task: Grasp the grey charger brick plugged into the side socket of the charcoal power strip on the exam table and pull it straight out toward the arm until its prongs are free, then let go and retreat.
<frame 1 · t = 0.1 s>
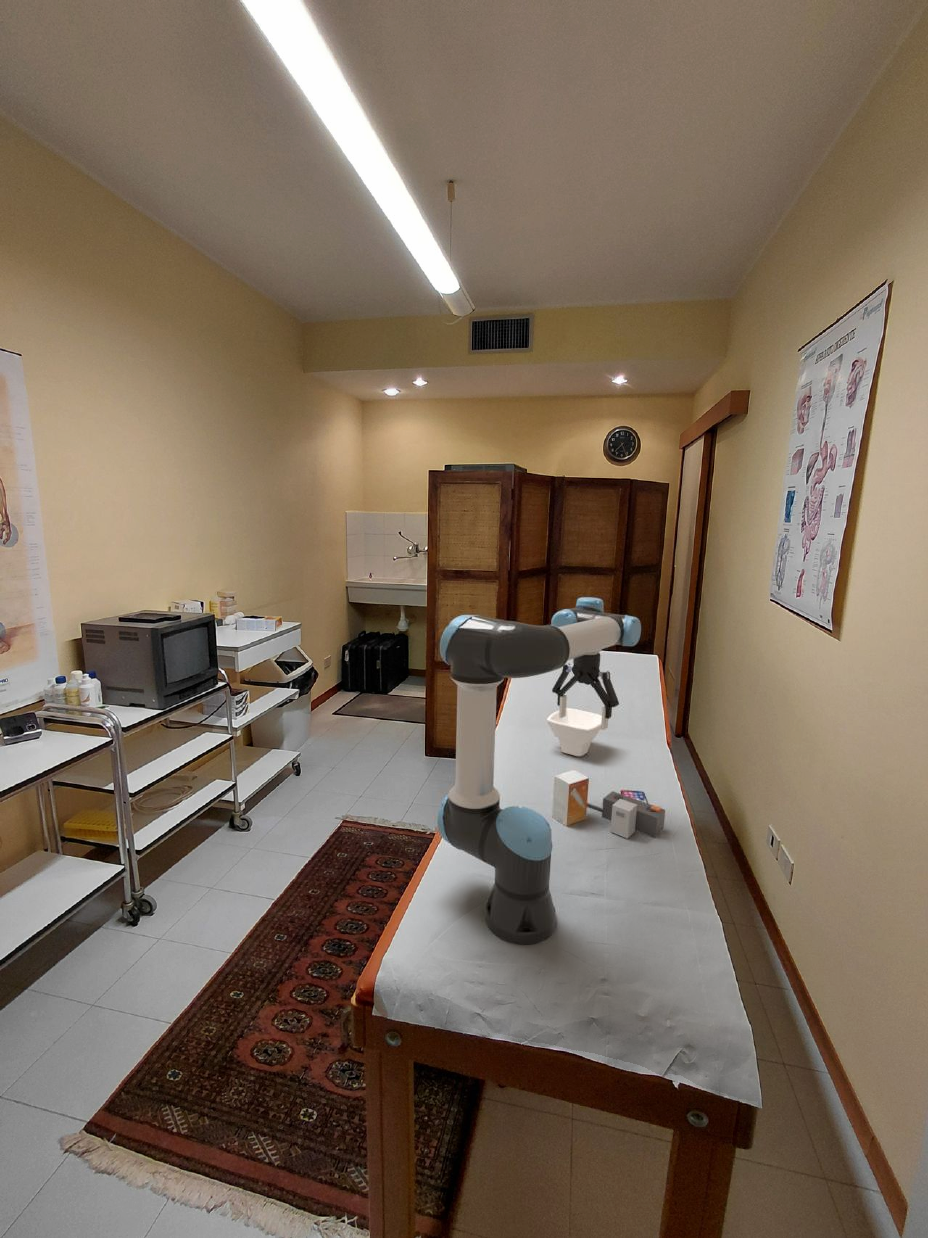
hand: (582, 722, 158), 28 cm above the table, fingers open, 13 cm apart
small box: (569, 818, 159), on the table
bowl: (574, 753, 205), on the table
power strip: (632, 823, 157), on the table
charger: (626, 815, 152), point 4 cm above the table, slide at 0.0 cm
smartphone: (635, 805, 168), on the table
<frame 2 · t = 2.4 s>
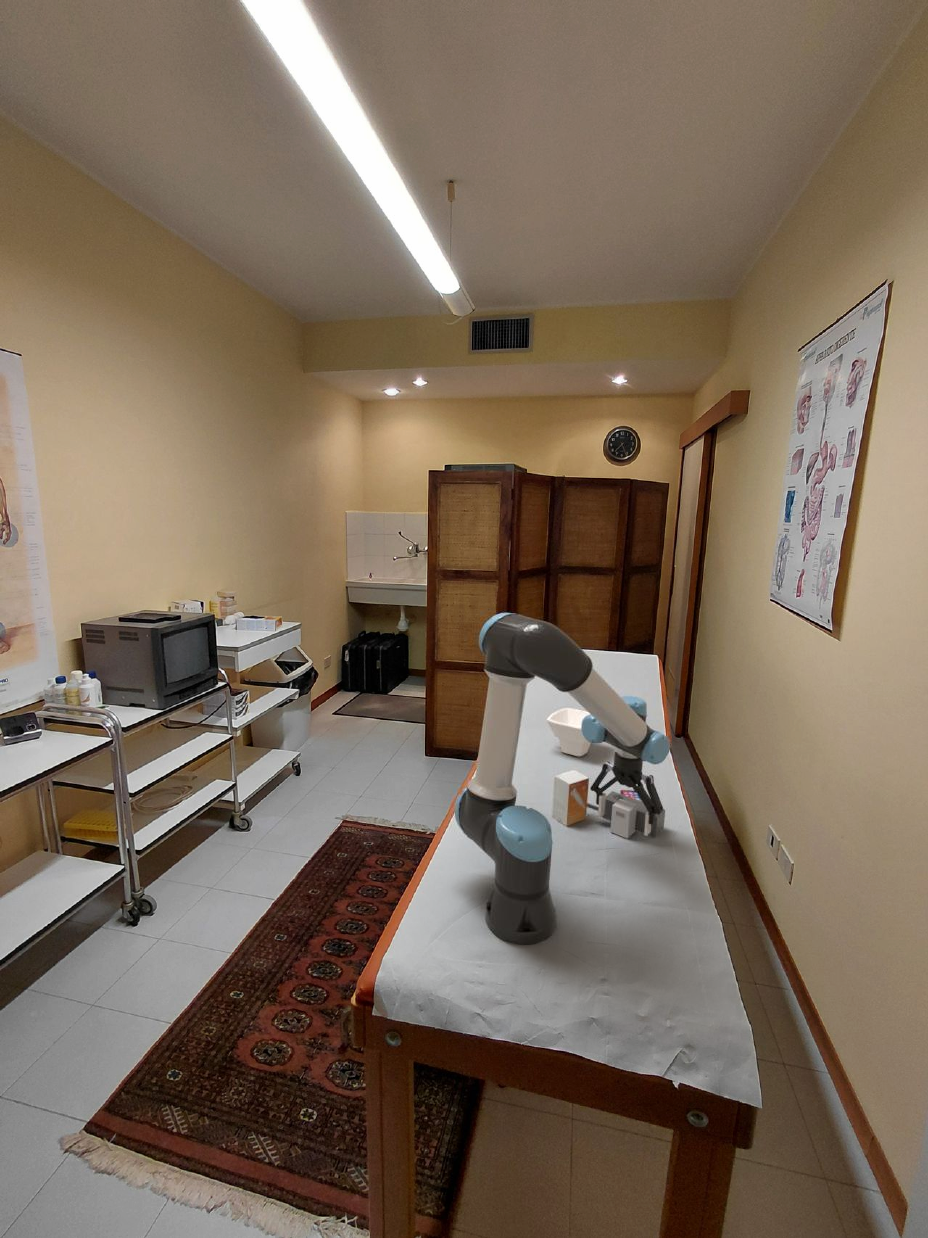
hand: (623, 824, 152), 2 cm above the table, fingers open, 13 cm apart
nothing on the table moved.
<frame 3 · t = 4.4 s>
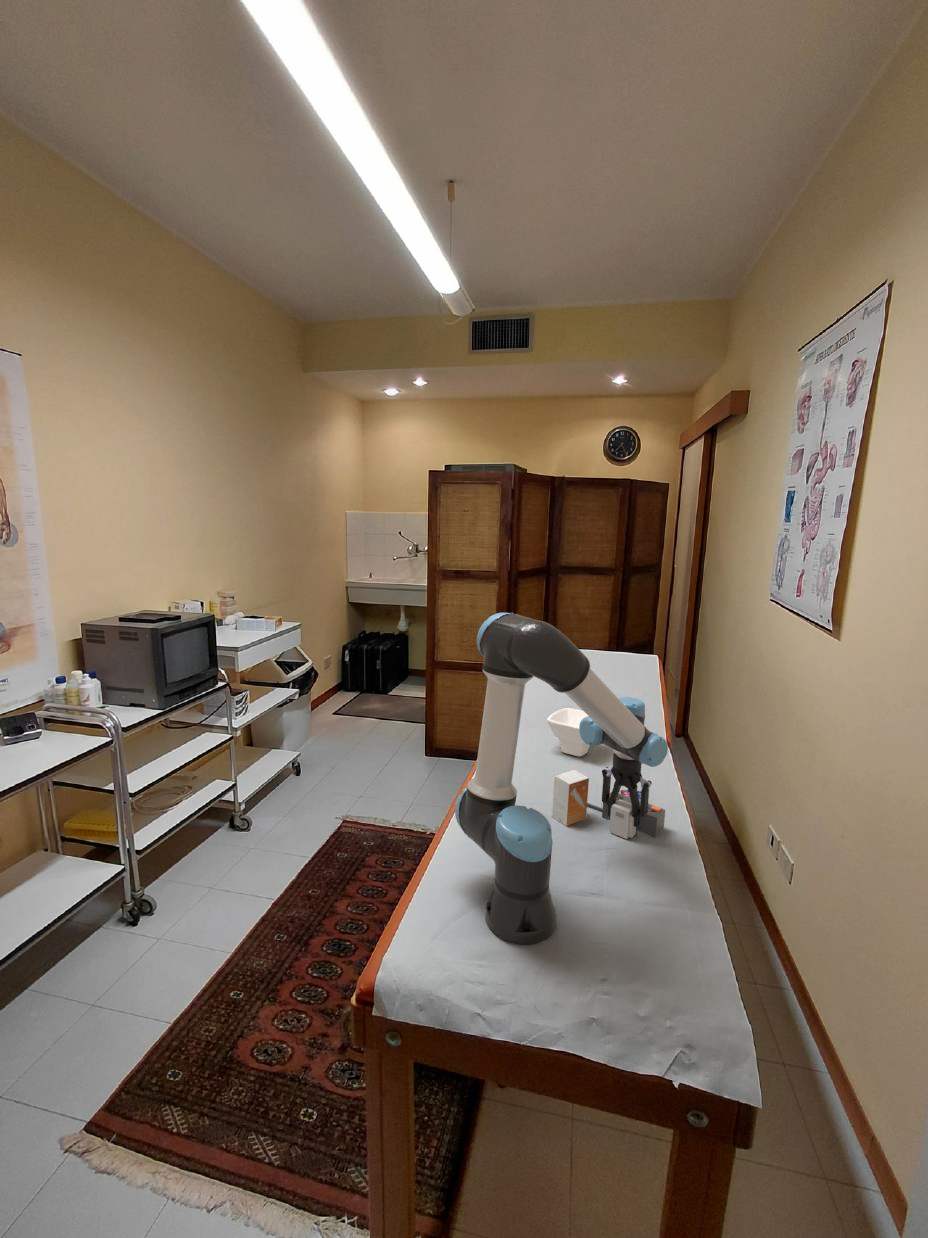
hand: (622, 831, 152), 0 cm above the table, fingers closed on charger, 5 cm apart
charger: (625, 816, 152), point 4 cm above the table, slide at 0.4 cm, touching gripper
everything else where it was.
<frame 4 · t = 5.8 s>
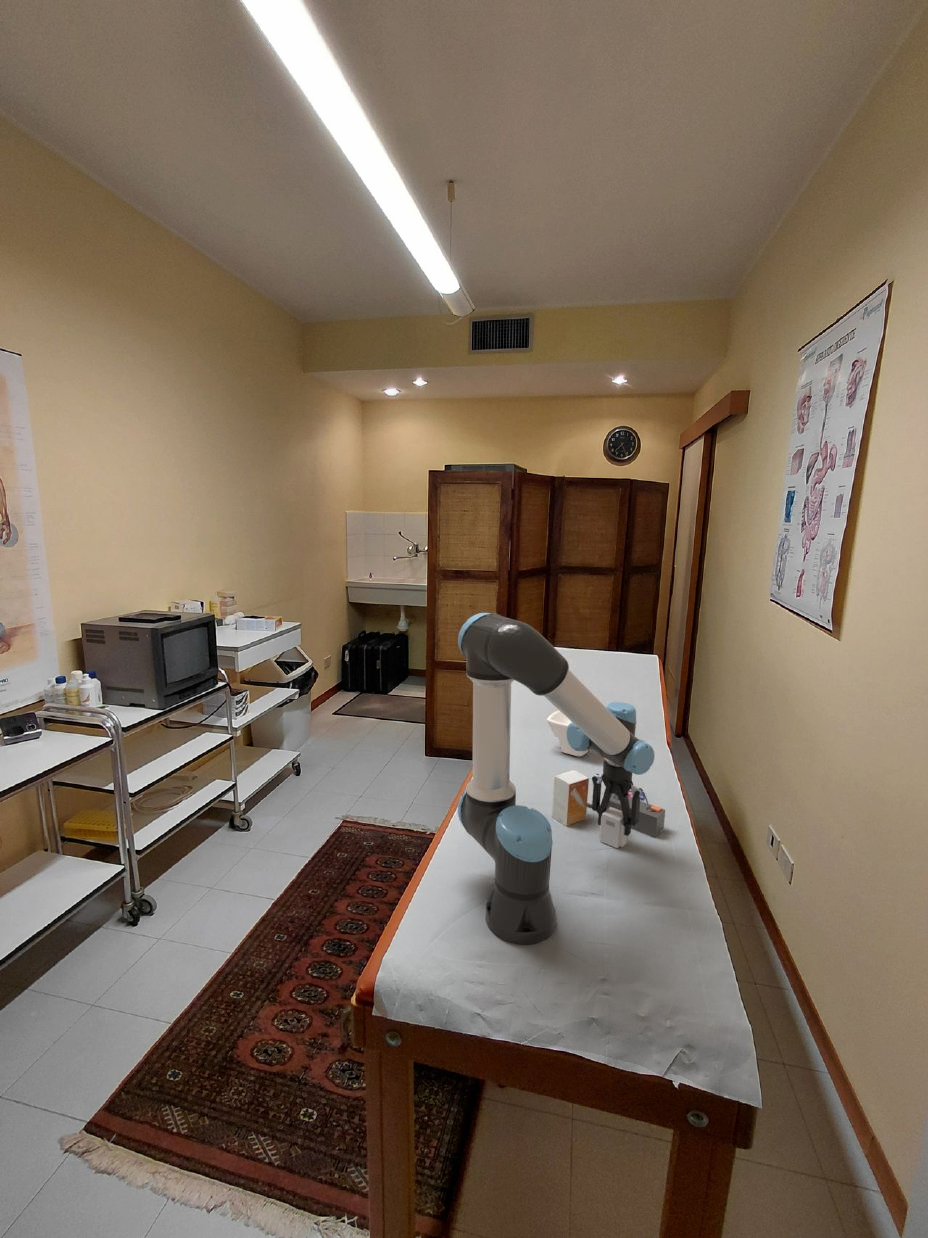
hand: (613, 840, 147), 0 cm above the table, fingers closed on charger, 5 cm apart
charger: (616, 824, 148), point 4 cm above the table, slide at 6.3 cm, touching gripper
everything else where it was.
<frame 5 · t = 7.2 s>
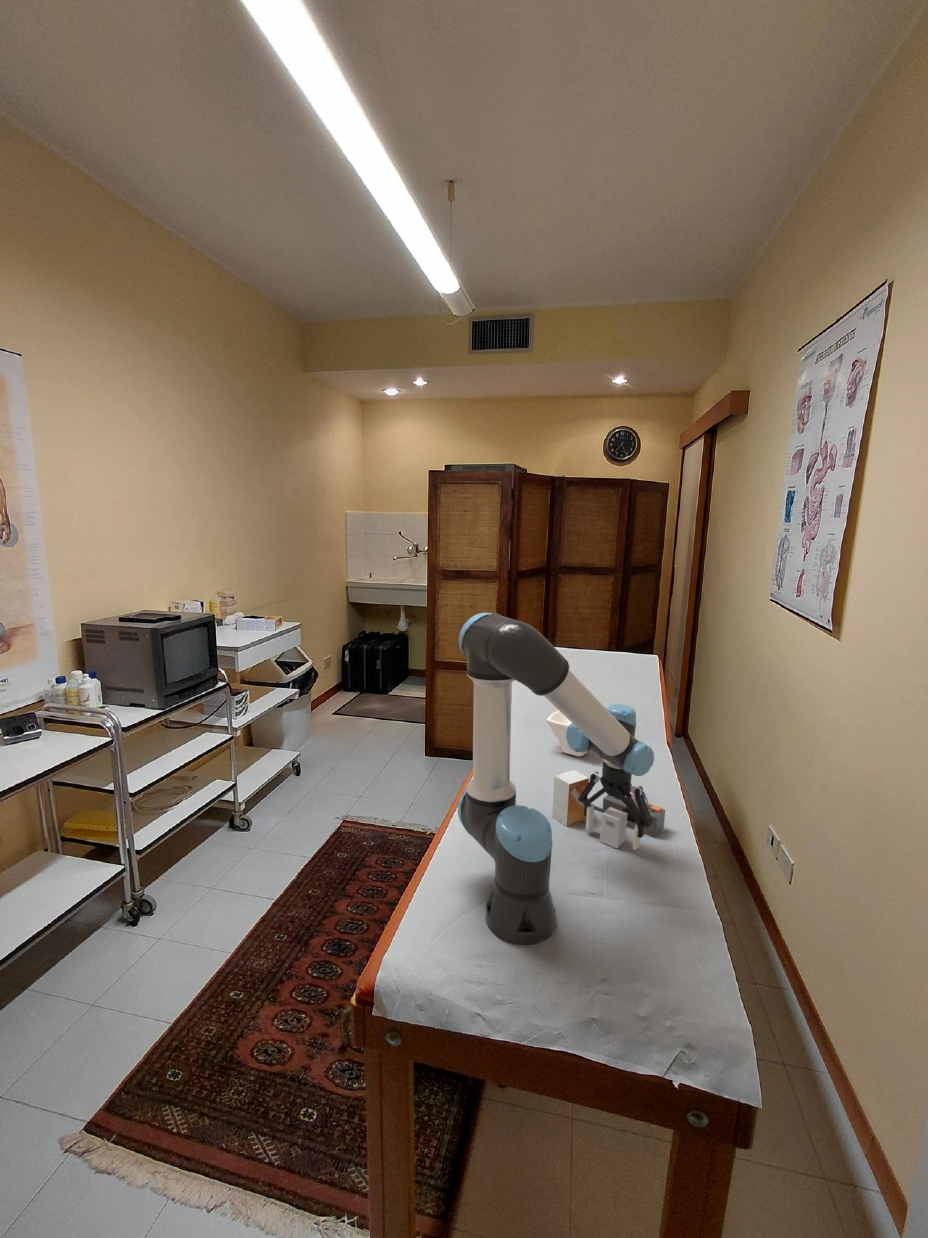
hand: (612, 837, 146), 2 cm above the table, fingers open, 13 cm apart
charger: (616, 824, 148), point 4 cm above the table, slide at 6.4 cm
everything else where it was.
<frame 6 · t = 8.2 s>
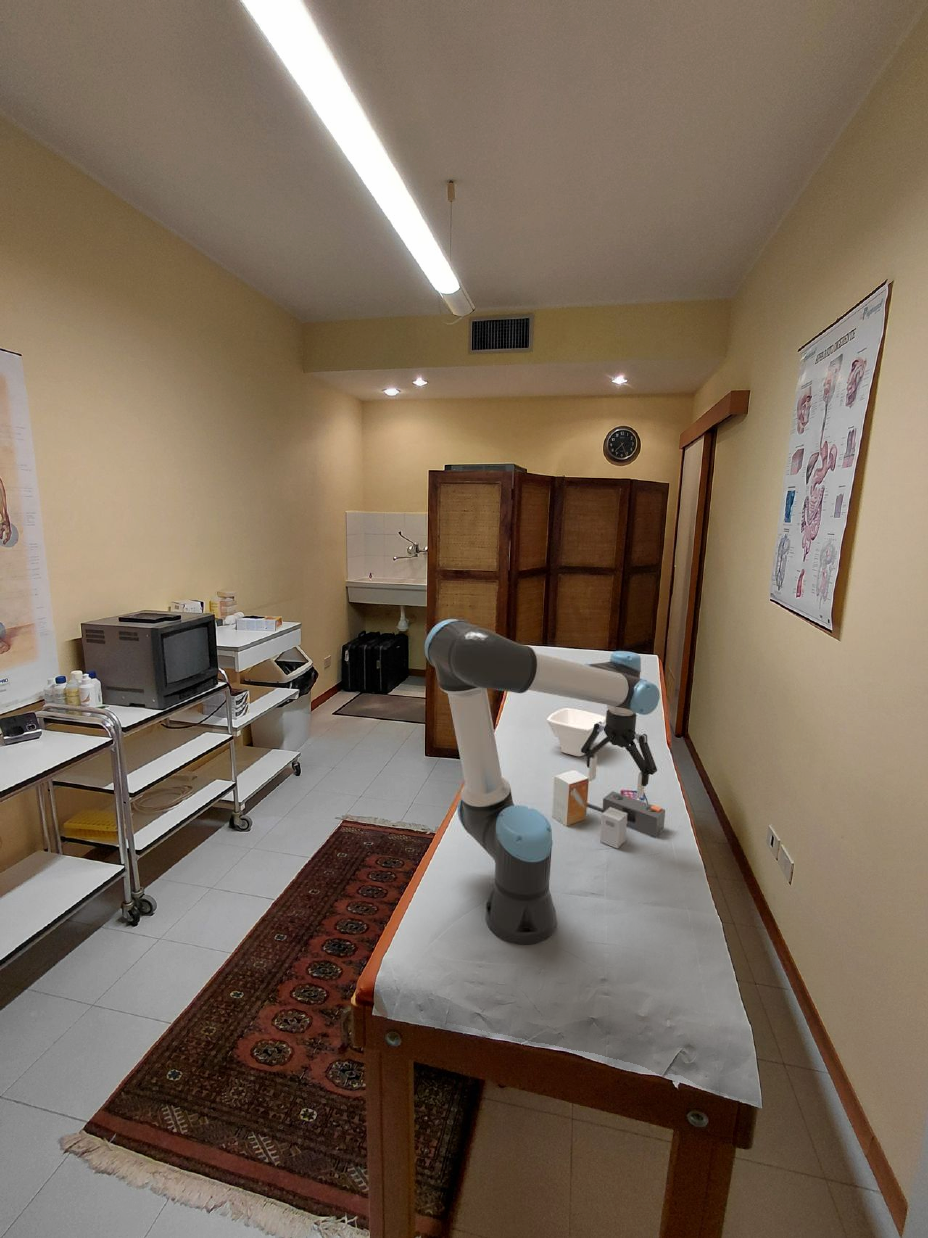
hand: (615, 787, 144), 16 cm above the table, fingers open, 13 cm apart
nothing on the table moved.
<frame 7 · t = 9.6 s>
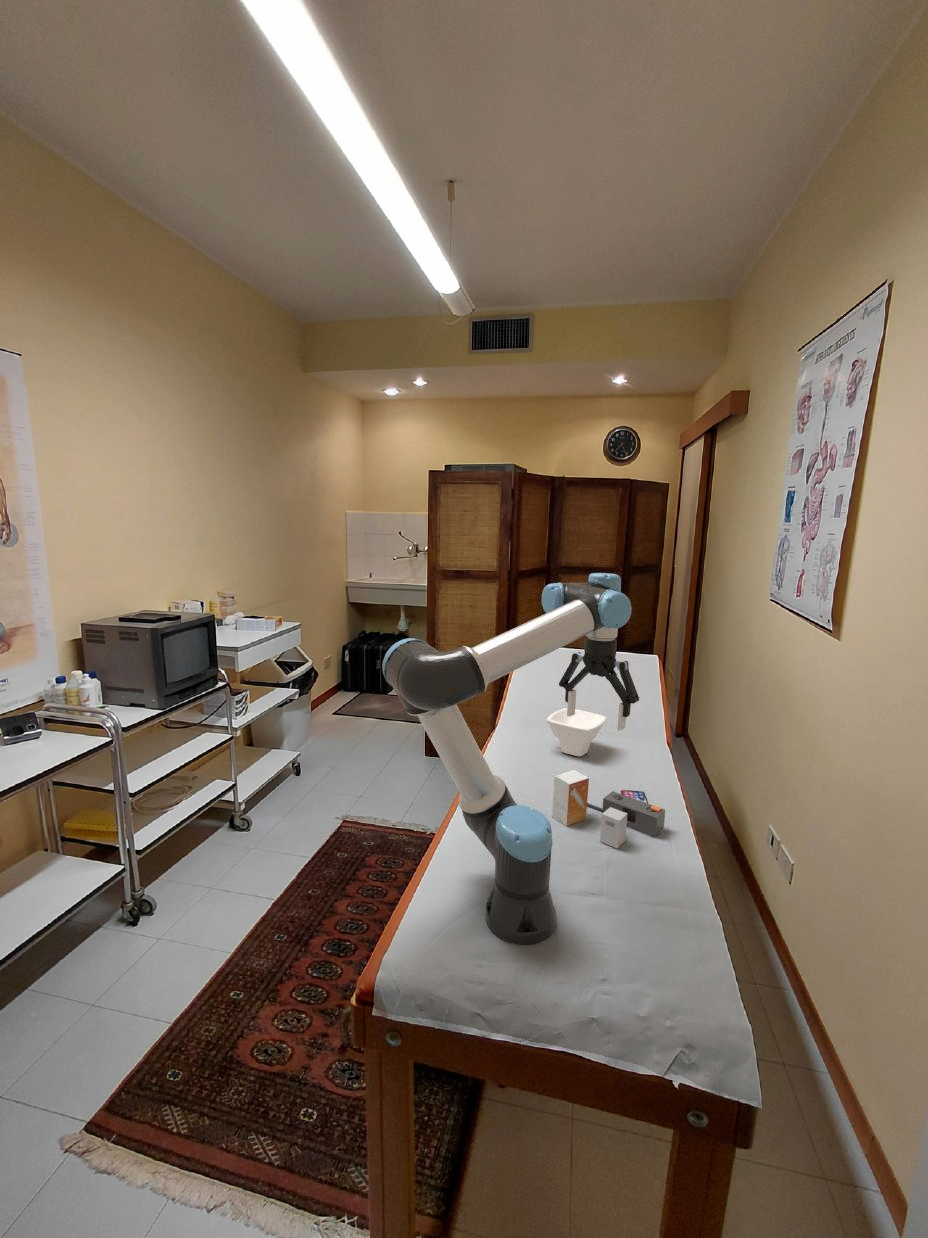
hand: (595, 722, 134), 37 cm above the table, fingers open, 13 cm apart
nothing on the table moved.
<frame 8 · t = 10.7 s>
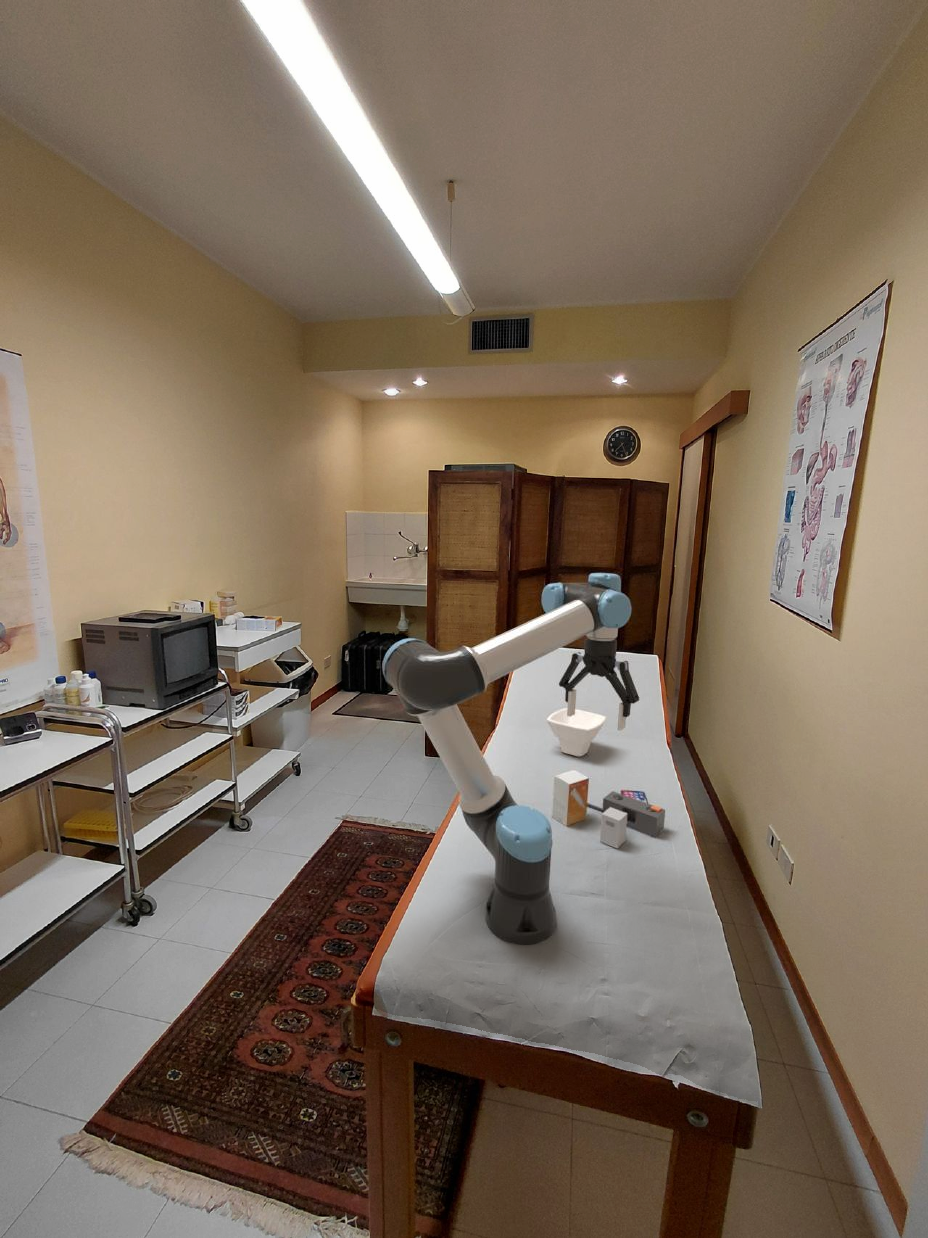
hand: (595, 721, 134), 37 cm above the table, fingers open, 13 cm apart
nothing on the table moved.
at the end: charger slide at 6.4 cm; the gripper is holding nothing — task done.
